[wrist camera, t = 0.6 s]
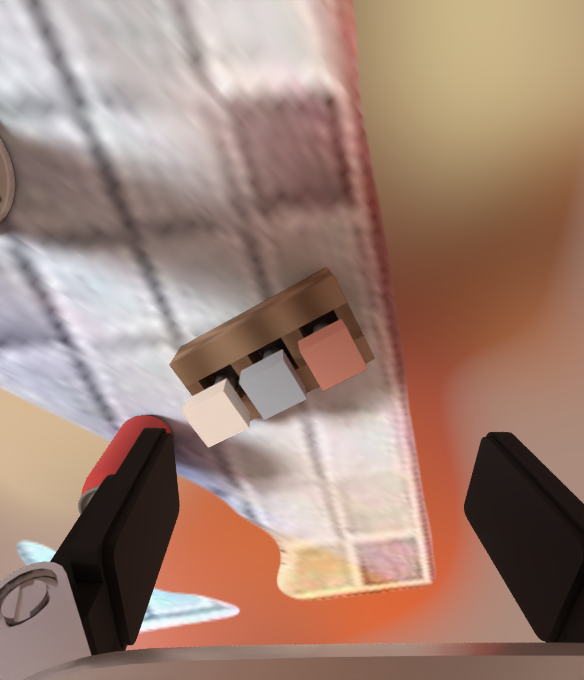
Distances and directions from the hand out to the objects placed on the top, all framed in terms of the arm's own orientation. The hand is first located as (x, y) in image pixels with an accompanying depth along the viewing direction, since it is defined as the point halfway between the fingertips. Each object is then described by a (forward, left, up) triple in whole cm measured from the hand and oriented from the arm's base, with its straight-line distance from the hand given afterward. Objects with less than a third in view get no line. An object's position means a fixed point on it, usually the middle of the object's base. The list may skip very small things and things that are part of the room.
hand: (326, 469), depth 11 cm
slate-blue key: (-5, -6, -27) cm, 28 cm away
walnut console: (-5, -6, -30) cm, 31 cm away
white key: (-11, -6, -26) cm, 29 cm away
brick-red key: (+1, -6, -27) cm, 27 cm away
